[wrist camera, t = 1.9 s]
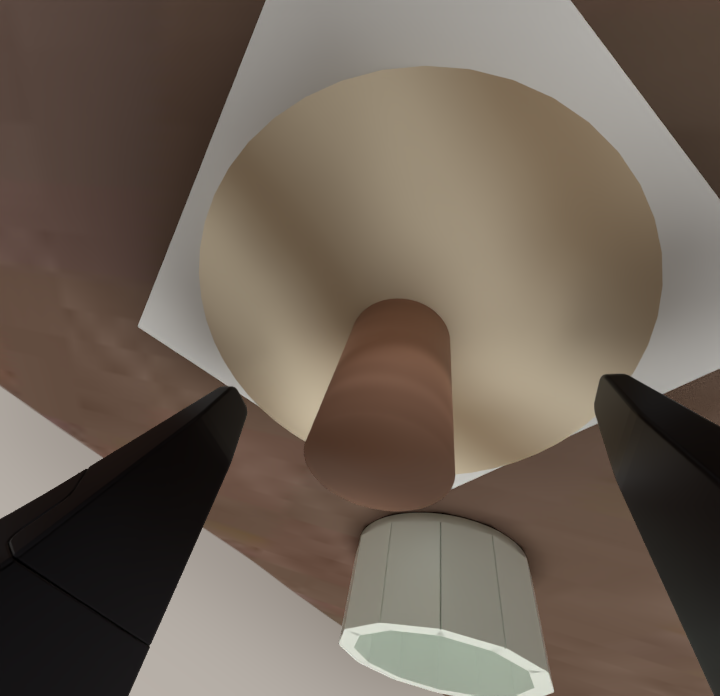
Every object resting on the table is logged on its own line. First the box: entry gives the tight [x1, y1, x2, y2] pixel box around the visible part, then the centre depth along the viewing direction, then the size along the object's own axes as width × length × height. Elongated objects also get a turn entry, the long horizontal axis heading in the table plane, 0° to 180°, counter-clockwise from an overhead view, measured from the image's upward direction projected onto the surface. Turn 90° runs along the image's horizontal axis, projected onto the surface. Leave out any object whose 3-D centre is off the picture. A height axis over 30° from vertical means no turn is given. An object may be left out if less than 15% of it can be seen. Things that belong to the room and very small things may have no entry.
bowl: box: [339, 513, 554, 696], centre depth 19 cm, size 10×10×5 cm
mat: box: [138, 0, 720, 489], centre depth 11 cm, size 15×15×1 cm
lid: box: [199, 66, 663, 511], centre depth 9 cm, size 13×13×6 cm
